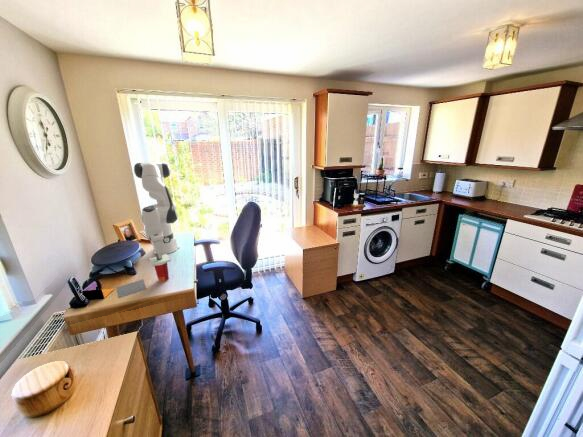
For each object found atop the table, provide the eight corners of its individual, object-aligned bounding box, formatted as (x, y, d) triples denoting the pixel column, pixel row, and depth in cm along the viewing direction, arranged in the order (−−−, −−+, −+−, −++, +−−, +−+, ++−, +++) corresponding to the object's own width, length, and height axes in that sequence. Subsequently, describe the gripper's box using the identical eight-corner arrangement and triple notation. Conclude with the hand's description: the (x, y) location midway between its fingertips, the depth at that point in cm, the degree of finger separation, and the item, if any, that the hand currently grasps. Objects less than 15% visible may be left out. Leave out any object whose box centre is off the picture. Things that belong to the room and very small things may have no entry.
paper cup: (168, 275, 155) (164, 256, 151) (172, 280, 150) (168, 260, 146) (155, 280, 150) (150, 260, 146) (159, 285, 145) (154, 264, 140)
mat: (116, 288, 142) (116, 287, 142) (143, 279, 151) (143, 279, 150) (118, 299, 132) (118, 298, 132) (147, 290, 140) (146, 289, 140)
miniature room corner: (81, 303, 129) (77, 292, 127) (96, 290, 141) (93, 280, 139) (104, 301, 131) (101, 291, 129) (117, 289, 142) (115, 279, 140)
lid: (149, 259, 146) (147, 253, 145) (166, 255, 152) (165, 248, 151) (152, 266, 139) (150, 259, 138) (170, 260, 145) (169, 254, 143)
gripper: (145, 230, 146) (149, 250, 150) (151, 240, 131) (156, 262, 135) (157, 228, 150) (161, 248, 154) (164, 237, 135) (168, 259, 139)
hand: (158, 255), depth 145 cm, fingers open, 8 cm apart
